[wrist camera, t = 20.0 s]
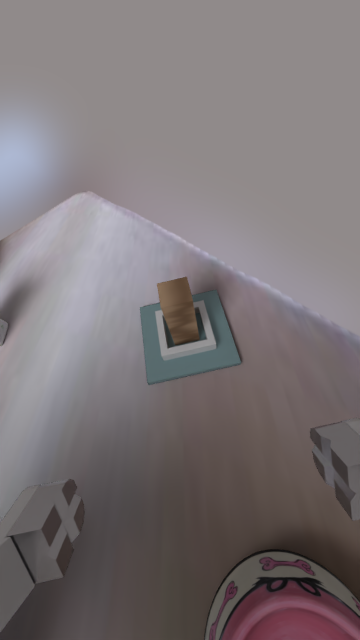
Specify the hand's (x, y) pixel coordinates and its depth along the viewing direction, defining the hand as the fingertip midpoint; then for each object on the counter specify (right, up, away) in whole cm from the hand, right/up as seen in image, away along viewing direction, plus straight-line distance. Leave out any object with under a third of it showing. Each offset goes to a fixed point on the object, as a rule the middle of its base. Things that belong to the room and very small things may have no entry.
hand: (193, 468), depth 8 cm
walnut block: (+1, +3, +35) cm, 35 cm away
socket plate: (+1, +2, +36) cm, 36 cm away
